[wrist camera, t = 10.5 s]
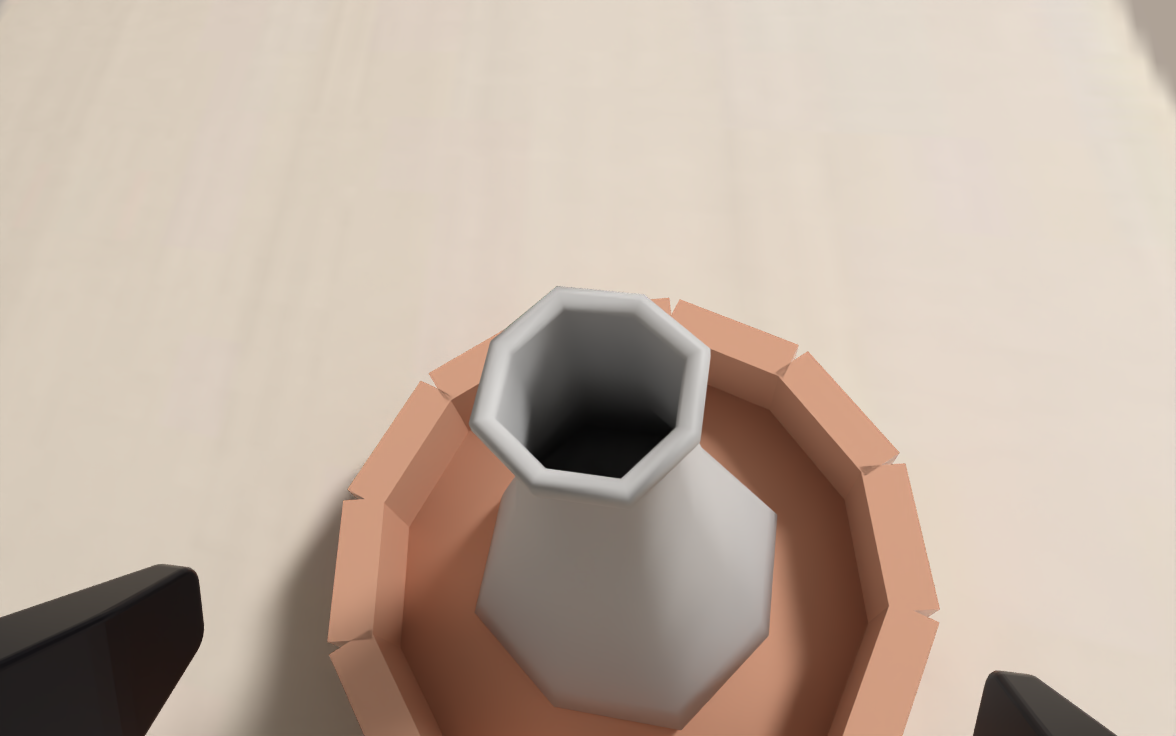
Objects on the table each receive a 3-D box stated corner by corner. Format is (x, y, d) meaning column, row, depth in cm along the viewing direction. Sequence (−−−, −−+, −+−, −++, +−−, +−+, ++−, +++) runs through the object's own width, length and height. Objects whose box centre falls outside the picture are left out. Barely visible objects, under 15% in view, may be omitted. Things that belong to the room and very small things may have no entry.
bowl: (772, 1022, 16) (792, 1069, 13) (276, 698, 20) (215, 685, 17) (962, 470, 21) (1004, 424, 18) (534, 295, 24) (517, 237, 22)
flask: (426, 631, 19) (213, 501, 10) (570, 388, 22) (501, 119, 13) (701, 794, 17) (731, 806, 8) (824, 502, 20) (948, 274, 11)
